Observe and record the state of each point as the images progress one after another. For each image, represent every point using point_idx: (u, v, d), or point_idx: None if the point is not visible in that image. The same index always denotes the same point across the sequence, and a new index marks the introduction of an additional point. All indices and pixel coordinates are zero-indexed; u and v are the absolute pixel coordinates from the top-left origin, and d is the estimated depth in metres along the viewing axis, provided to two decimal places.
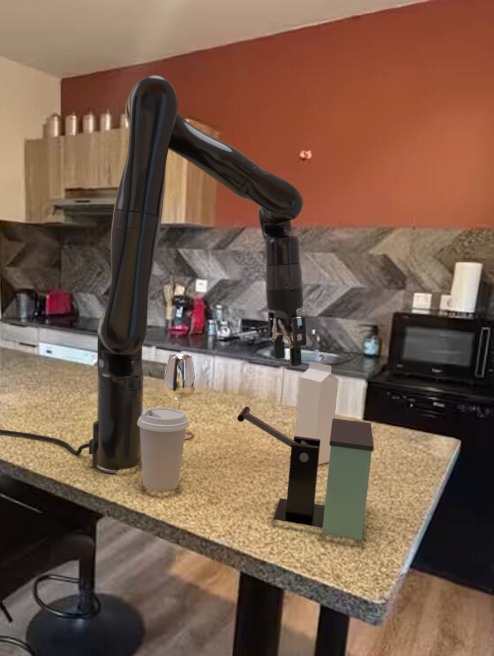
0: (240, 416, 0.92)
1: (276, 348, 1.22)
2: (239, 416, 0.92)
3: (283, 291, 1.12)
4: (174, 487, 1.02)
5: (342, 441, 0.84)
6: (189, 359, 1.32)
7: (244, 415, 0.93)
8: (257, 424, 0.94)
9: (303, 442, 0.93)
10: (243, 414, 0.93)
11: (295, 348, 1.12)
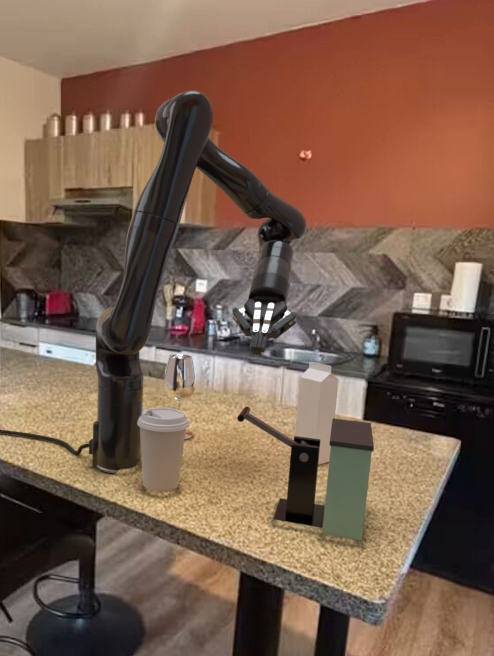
0: (240, 416, 0.92)
1: None
2: (239, 416, 0.92)
3: (286, 282, 1.09)
4: (174, 487, 1.02)
5: (342, 441, 0.84)
6: (189, 359, 1.32)
7: (244, 415, 0.93)
8: (257, 424, 0.94)
9: (303, 442, 0.93)
10: (243, 414, 0.93)
11: (267, 335, 1.04)
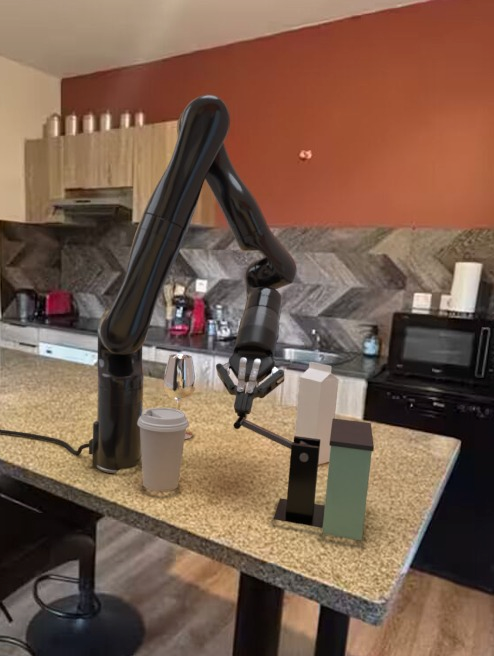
0: (236, 423, 0.93)
1: None
2: (235, 423, 0.93)
3: (274, 335, 1.02)
4: (174, 487, 1.02)
5: (342, 441, 0.84)
6: (189, 359, 1.32)
7: (240, 422, 0.93)
8: (255, 429, 0.94)
9: (302, 442, 0.93)
10: (238, 421, 0.93)
11: (253, 395, 0.96)
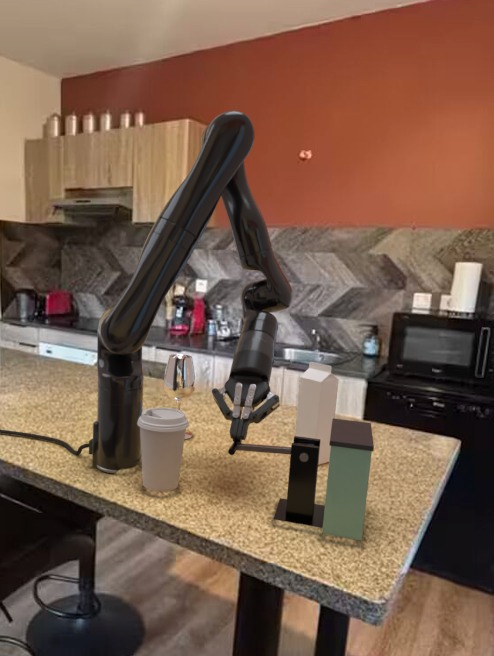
0: (230, 450, 0.94)
1: (238, 426, 0.97)
2: (229, 450, 0.94)
3: (270, 360, 1.03)
4: (174, 487, 1.02)
5: (342, 441, 0.84)
6: (189, 359, 1.32)
7: (234, 447, 0.94)
8: (251, 449, 0.95)
9: None
10: (232, 446, 0.94)
11: (249, 421, 0.97)
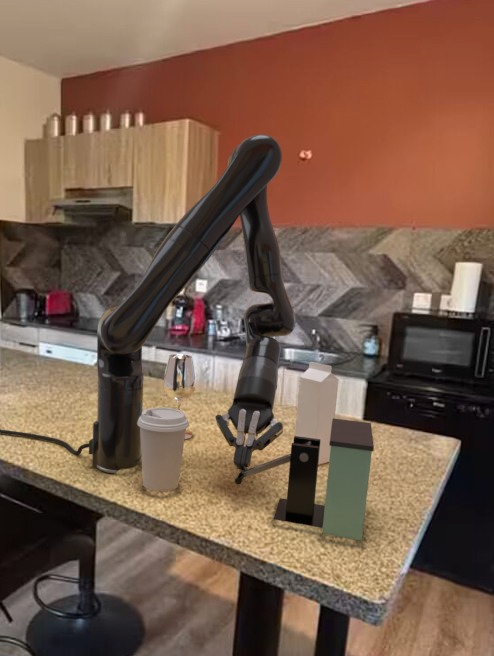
0: (236, 480, 0.94)
1: None
2: (236, 481, 0.94)
3: (273, 386, 1.03)
4: (174, 487, 1.02)
5: (342, 441, 0.84)
6: (189, 359, 1.32)
7: (239, 476, 0.95)
8: (256, 471, 0.95)
9: None
10: (237, 476, 0.95)
11: (252, 448, 0.98)
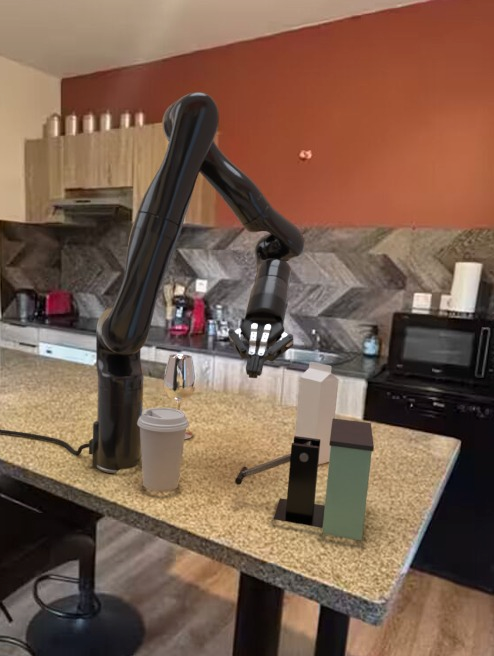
0: (236, 480, 0.94)
1: None
2: (236, 481, 0.94)
3: (284, 302, 1.07)
4: (174, 487, 1.02)
5: (342, 441, 0.84)
6: (189, 359, 1.32)
7: (239, 476, 0.95)
8: (256, 471, 0.95)
9: None
10: (237, 476, 0.95)
11: (264, 358, 1.02)
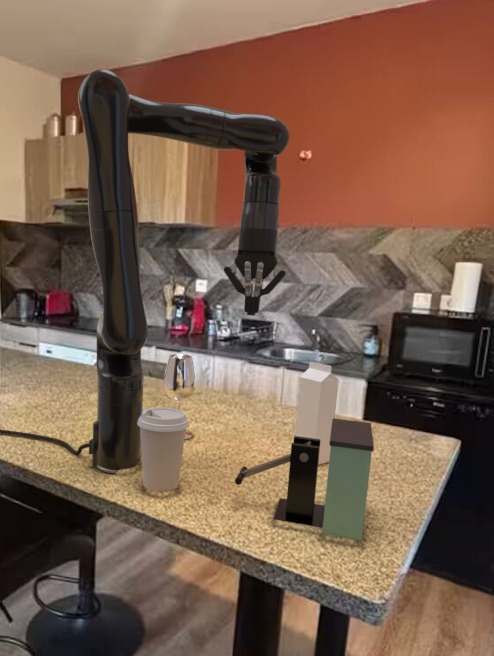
0: (236, 480, 0.94)
1: None
2: (236, 481, 0.94)
3: (274, 231, 1.07)
4: (174, 487, 1.02)
5: (342, 441, 0.84)
6: (189, 359, 1.32)
7: (239, 476, 0.95)
8: (256, 471, 0.95)
9: None
10: (237, 476, 0.95)
11: (260, 296, 1.11)
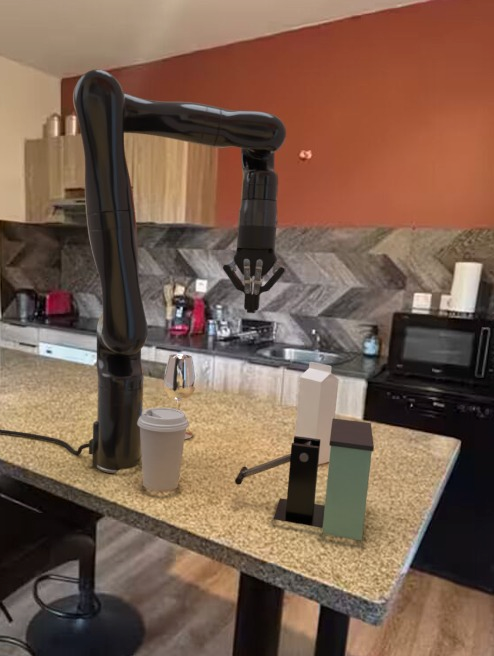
0: (236, 480, 0.94)
1: None
2: (236, 481, 0.94)
3: (273, 228, 1.07)
4: (174, 487, 1.02)
5: (342, 441, 0.84)
6: (189, 359, 1.32)
7: (239, 476, 0.95)
8: (256, 471, 0.95)
9: None
10: (237, 476, 0.95)
11: (259, 294, 1.10)
